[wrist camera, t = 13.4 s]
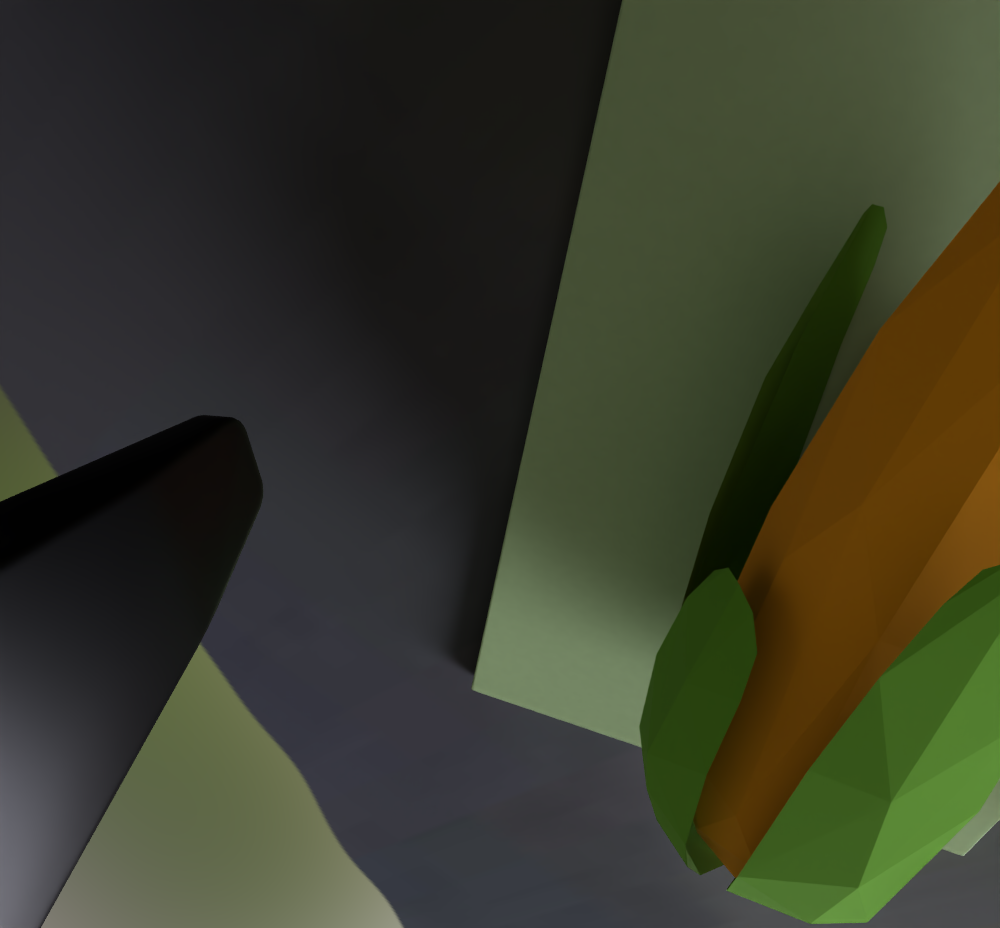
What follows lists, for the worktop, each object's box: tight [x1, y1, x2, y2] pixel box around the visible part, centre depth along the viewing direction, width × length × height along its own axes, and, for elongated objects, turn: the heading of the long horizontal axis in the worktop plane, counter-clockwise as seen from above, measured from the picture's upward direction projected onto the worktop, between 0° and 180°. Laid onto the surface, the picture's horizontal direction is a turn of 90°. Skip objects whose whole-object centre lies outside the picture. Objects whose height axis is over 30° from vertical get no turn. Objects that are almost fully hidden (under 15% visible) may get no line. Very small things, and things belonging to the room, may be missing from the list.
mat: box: [472, 0, 1000, 856], centre depth 21 cm, size 16×24×1 cm, turn 172°
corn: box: [639, 182, 1000, 924], centre depth 18 cm, size 7×8×20 cm
